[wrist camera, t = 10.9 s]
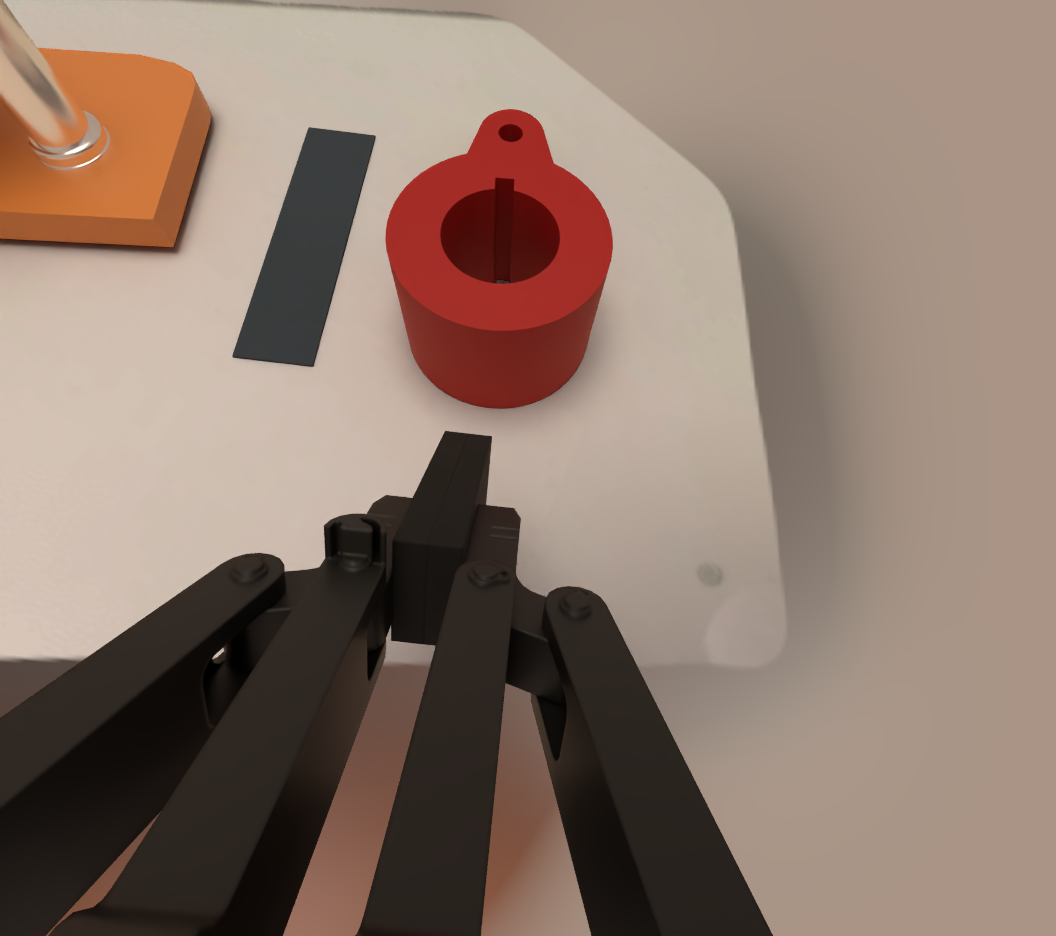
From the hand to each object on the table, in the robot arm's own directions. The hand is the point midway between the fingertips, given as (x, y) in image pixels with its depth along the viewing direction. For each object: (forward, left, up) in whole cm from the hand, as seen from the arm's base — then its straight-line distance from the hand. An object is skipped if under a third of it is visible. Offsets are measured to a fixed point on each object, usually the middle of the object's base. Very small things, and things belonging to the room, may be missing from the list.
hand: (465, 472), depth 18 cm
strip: (+11, -16, -8) cm, 21 cm away
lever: (0, -15, -8) cm, 17 cm away
